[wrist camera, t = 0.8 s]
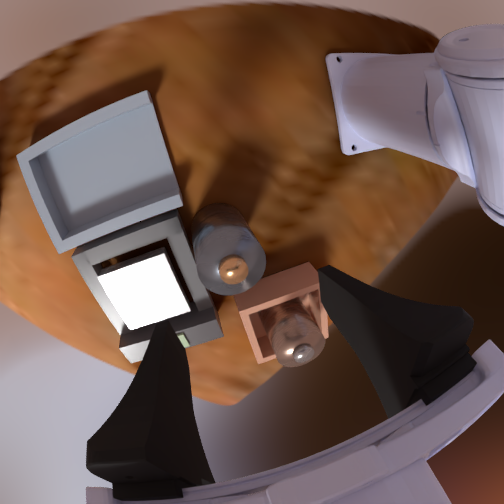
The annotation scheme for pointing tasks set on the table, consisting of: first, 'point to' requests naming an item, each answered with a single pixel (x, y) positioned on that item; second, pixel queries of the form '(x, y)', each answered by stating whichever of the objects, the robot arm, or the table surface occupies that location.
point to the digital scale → (202, 308)
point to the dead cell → (292, 332)
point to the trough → (101, 173)
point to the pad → (145, 288)
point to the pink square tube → (275, 292)
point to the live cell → (226, 250)
